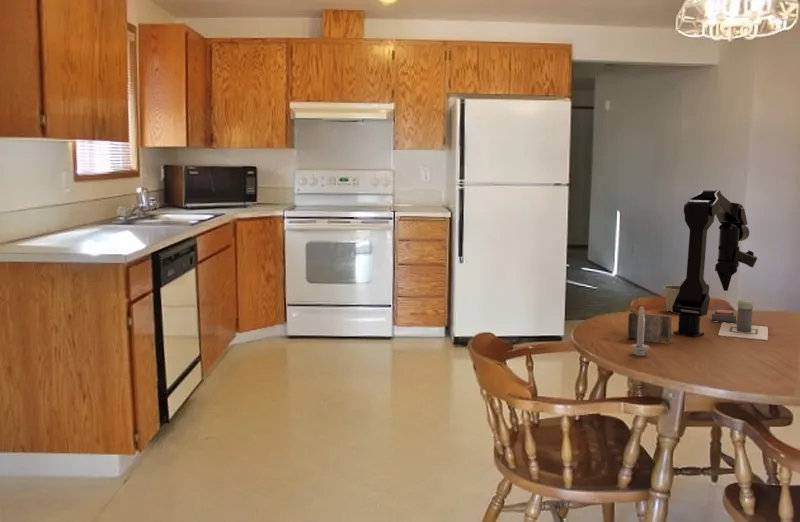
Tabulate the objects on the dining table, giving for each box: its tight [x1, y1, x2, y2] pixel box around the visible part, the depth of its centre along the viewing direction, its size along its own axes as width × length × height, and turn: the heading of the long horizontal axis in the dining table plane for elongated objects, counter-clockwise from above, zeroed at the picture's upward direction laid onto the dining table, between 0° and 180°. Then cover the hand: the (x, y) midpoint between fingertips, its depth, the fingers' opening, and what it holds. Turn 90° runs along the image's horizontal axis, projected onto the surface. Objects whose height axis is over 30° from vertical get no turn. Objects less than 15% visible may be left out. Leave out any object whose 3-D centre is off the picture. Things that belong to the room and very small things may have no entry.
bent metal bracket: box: [626, 308, 673, 345], centre depth 200 cm, size 11×3×10 cm, turn 60°
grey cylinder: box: [736, 299, 754, 332], centre depth 213 cm, size 4×4×9 cm
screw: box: [629, 306, 650, 357], centre depth 183 cm, size 13×5×5 cm
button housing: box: [711, 310, 737, 324], centre depth 230 cm, size 7×7×2 cm
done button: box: [716, 309, 733, 316], centre depth 229 cm, size 4×4×2 cm
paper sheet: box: [717, 323, 769, 342], centre depth 214 cm, size 20×13×1 cm, turn 153°
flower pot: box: [662, 284, 681, 313], centre depth 245 cm, size 9×9×9 cm
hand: (725, 290), depth 229 cm, fingers closed
